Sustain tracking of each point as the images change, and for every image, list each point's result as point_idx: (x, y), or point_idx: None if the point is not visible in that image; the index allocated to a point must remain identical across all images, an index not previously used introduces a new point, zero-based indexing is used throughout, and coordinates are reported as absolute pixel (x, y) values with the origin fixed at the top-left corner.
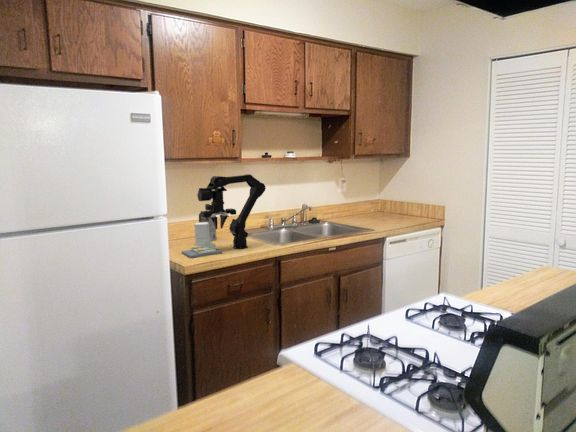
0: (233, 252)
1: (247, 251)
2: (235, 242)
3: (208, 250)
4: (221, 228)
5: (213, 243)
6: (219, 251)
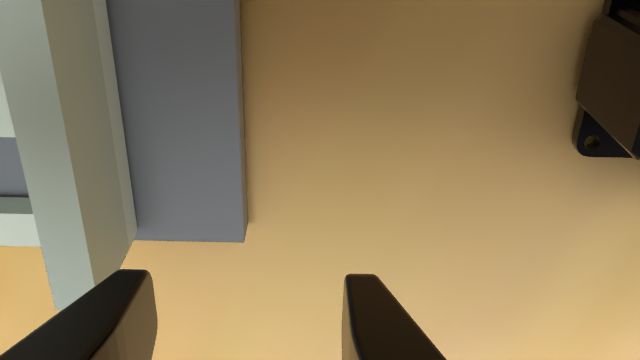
0: (401, 262)
1: (575, 317)
2: (616, 139)
3: (5, 233)
4: (342, 332)
5: (77, 256)
6: (198, 236)
